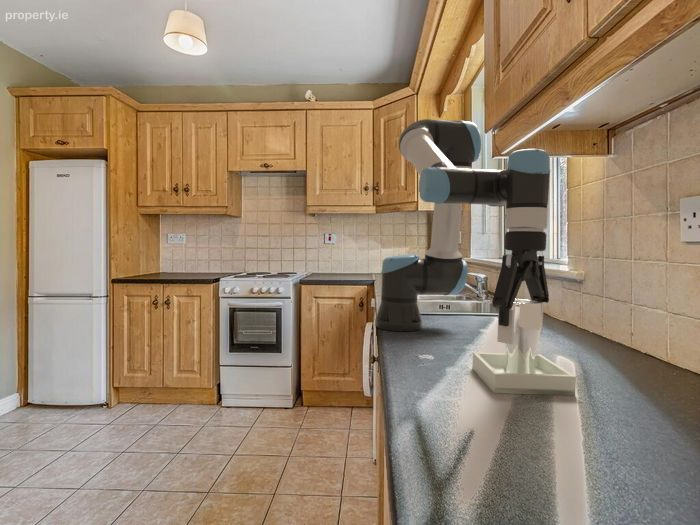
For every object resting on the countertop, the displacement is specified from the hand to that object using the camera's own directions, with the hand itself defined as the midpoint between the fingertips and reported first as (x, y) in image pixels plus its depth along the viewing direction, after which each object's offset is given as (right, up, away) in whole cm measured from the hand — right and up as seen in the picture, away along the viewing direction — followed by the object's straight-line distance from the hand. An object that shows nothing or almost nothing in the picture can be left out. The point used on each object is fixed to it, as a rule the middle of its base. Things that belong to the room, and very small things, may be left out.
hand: (520, 337), depth 81 cm
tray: (0, -9, 0) cm, 9 cm away
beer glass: (0, -8, +1) cm, 8 cm away
